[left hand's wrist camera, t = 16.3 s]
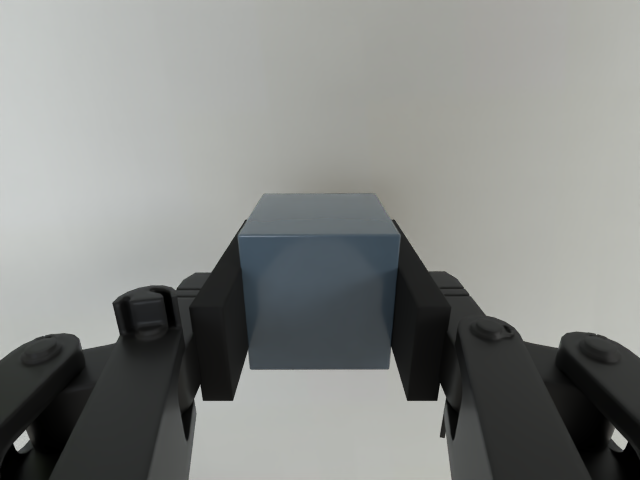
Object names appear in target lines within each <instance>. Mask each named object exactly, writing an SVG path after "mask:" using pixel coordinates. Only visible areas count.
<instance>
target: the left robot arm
mask: <svg viewBox="0 0 640 480" xmlns="http://www.w3.org/2000/svg"><path fill="white" fill-rule="evenodd" d="M246 221H247V220H245V222H244V223H243V225H242V226H241V228H240V229H239V231H238V232H237V234H236V235H235V237H234V239H233V240H232V242H231V243H230V245H229V246H228V248H227V249H226V251H225V252H224V254H223V255H222V257H221V259H220V260H219V262H218V263H217V265H216V266H215V268H214V269H213V271H212V272H211V273H194V274H193V275H191V276H189V277H188V278H186V279H184V280H183V281H182V283H181V284H180V285H179V286H178V288H177V290H174V289H173V288H172V287H168V286H163V285H159V286H147V287H141V288H137V289H134V290H131V291H129V292H127V293H125V294H123V295H121V296H119V297H118V298H117V299H116V300H115V301H114V302H113V307H114V312H115V316H116V320H117V324H118V328H119V333H120V336H119V338H118V340H117V342H116V343H114V344H110V345H105V346H100V347H95V348H89V349H84V350H82V347H81V343H80V340H79V338H78V337H76V336H75V335H72V334H66V333H62V334H50V335H45V336H42V337H38V338H36V339H34V340H32V341H30V342H28V343H25V344H23V345H22V346H20V347H18V348H17V349H15V350H14V351H12V352H11V353H9V354H8V355H7V356H6V357H4V358H3V359H2V360H0V480H188V479H189V471H190V462H191V454H192V446H193V438H194V429H195V421H196V408H195V402H194V398H195V395H196V393H197V391H198V388H199V386H200V384H201V391H202V398H203V401H233V399H234V395H235V392H236V389H237V385H238V382H239V378H240V375H241V372H242V368H243V365H244V361H245V358H246V355H247V351H248V348H249V347H248V336H247V325H246V314H245V302H244V291H243V280H242V268H241V267H240V256H239V245H238V234H239V233H240V231H241V229H242V228H243V226H244V225H245V223H246ZM392 222H393V224H394V225H395V227H396V228H397V230H398V232H399V233H400V235H401V238H400V249H399V261H398V273H397V285H396V296H395V308H394V320H393V332H392V343H391V347H392V350H393V354H394V357H395V361H396V364H397V367H398V371H399V374H400V378H401V381H402V384H403V388H404V391H405V395H406V398H407V401H437V399H438V393H439V386H440V384H441V386H442V388H443V391H444V393H445V395H446V402H445V408H444V414H443V420H442V426H441V433H440V437H442V438H445V433H446V437H447V445H448V453H449V461H450V470H451V478H452V480H640V358H639V357H638V356H636V355H635V354H634V353H633V352H631V351H630V350H628V349H627V348H625V347H624V346H622V345H620V344H619V343H617V342H615V341H612V340H610V339H608V338H606V337H604V336H601V335H598V334H597V335H596V334H594V333H585V332H571V333H566V334H565V335H564V336H562V338H561V341H560V345H559V348H554V347H549V346H543V345H538V344H533V343H529V342H525V341H523V340H522V338H521V336H520V334H519V333H518V332H517V330H516V329H515V328H514V327H512V326H511V325H509V324H508V323H506V322H504V321H502V320H499V319H497V318H494V317H489V316H486V315H485V314H484V312H483V311H482V310H481V309H480V307H479V306H478V305H477V304H476V302H475V301H474V300H473V299H472V297H471V296H469V293H468V292H467V291H466V290H465V289H464V287H463V286H462V285H461V283H460V282H459V281H458V279H456V278H455V277H453V276H451V275H450V274H448V273H446V272H428V270H427V269H426V267H425V266H424V264H423V263H422V261H421V260H420V258H419V257H418V255H417V254H416V252H415V250H414V249H413V247H412V246H411V244H410V243H409V241H408V240H407V238H406V237H405V235H404V233H403V232H402V230H401V229H400V227H399V226H398V224H397V223H396V221H395V220H392ZM615 428H616V429H617V430H618V431H619V432H620V433H621V434H622V435H623V436H624V438H625V439H626V440H627V441H628V443H627V446H626V448H625V449H624V450H622V449H621V448H620V447H618V446H617V445H616V443H615V442H614V441H613V440H612V439H611V437H612V434H613V432H614V429H615ZM25 430H26V431H27V433H28V436H29V438H30V440H29V441H28V443H27V444H26V445H25V446H24V447H23V448H22V449H20V450H19V451H16V449H15V447H14V445H13V443H14V442H15V441H16V440H17V438H18V437H19V436H20V435H21V434H22V433H23V432H24V431H25Z"/></svg>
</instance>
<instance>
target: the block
mask: <svg viewBox="0 0 640 480" xmlns="http://www.w3.org/2000/svg"><path fill="white" fill-rule="evenodd" d="M400 238H401V235H400V233H399V232H398V230H397V228H396V227H395V225H394V224H393V222H392V220H391V219H390V217H389V215H388V214H387V212H386V210H385V209H384V207H383V205H382V204H381V202H380V200H379V199H378V197H377V196H376V194H374V193H351V194H263V196H262V197H261V199H260V200H259V202H258V204H257V205H256V207H255V209H254V210H253V212H252V213H251V215H250V217H249V218H248V220H247V221H246V223H245V225H244V226H243V228H242V229H241V231H240V233H239V234H238V245H239V256H240V267H241V268H242V280H243V291H244V302H245V314H246V325H247V336H248V347H249V348H248V354H249V365H250V369H251V370H322V369H389V367H390V355H391V343H392V332H393V320H394V308H395V296H396V285H397V273H398V261H399V249H400Z"/></svg>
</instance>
